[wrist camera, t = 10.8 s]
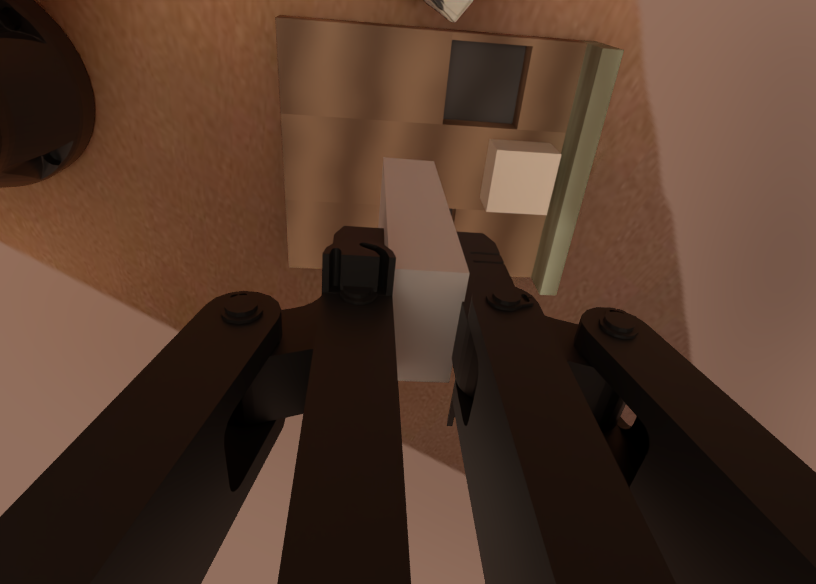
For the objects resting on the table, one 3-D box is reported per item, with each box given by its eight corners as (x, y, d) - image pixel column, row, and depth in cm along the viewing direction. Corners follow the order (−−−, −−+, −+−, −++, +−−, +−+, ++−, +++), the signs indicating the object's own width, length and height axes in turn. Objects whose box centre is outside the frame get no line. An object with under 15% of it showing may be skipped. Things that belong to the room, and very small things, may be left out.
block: (479, 197, 43) (486, 211, 41) (489, 138, 40) (497, 149, 38) (536, 201, 44) (546, 215, 41) (550, 143, 41) (561, 154, 38)
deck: (292, 256, 47) (283, 284, 43) (279, 15, 37) (267, 20, 33) (540, 267, 50) (556, 295, 45) (597, 41, 39) (623, 50, 35)
